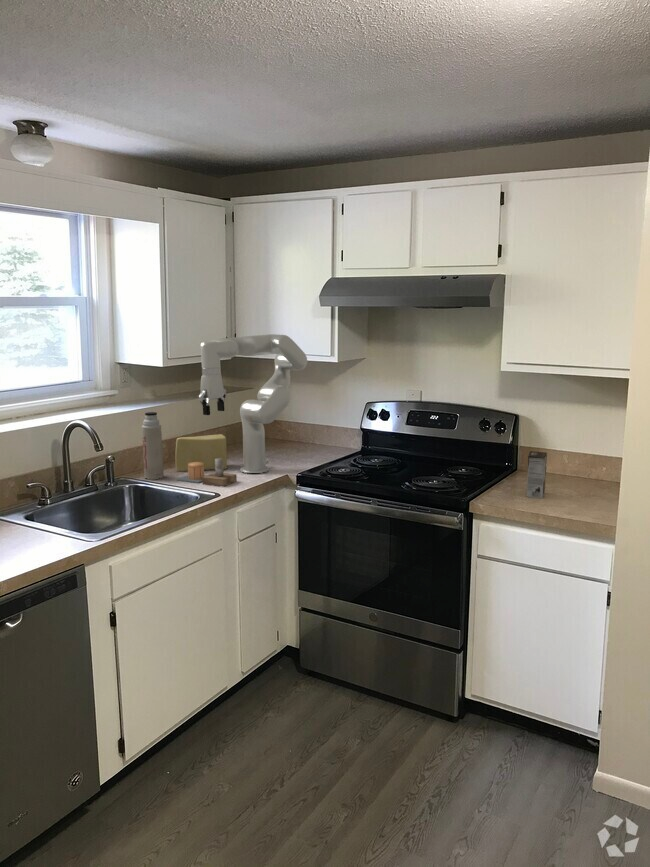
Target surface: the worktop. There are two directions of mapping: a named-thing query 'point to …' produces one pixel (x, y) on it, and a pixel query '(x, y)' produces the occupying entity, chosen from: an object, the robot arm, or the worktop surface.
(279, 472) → the worktop surface
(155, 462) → the thermos bottle
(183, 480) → the mat
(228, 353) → the robot arm
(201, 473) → the cap
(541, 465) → the coffee box
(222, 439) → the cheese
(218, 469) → the post stand
